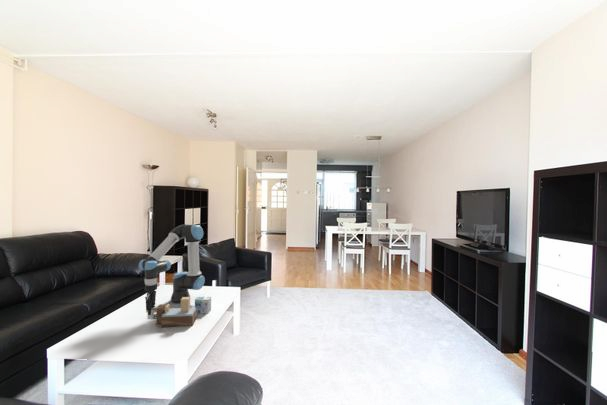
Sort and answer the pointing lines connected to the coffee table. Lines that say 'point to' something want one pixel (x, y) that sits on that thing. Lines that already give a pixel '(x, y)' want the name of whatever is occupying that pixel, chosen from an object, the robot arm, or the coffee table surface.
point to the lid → (180, 309)
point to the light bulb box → (203, 304)
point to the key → (156, 310)
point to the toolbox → (173, 319)
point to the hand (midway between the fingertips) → (150, 318)
